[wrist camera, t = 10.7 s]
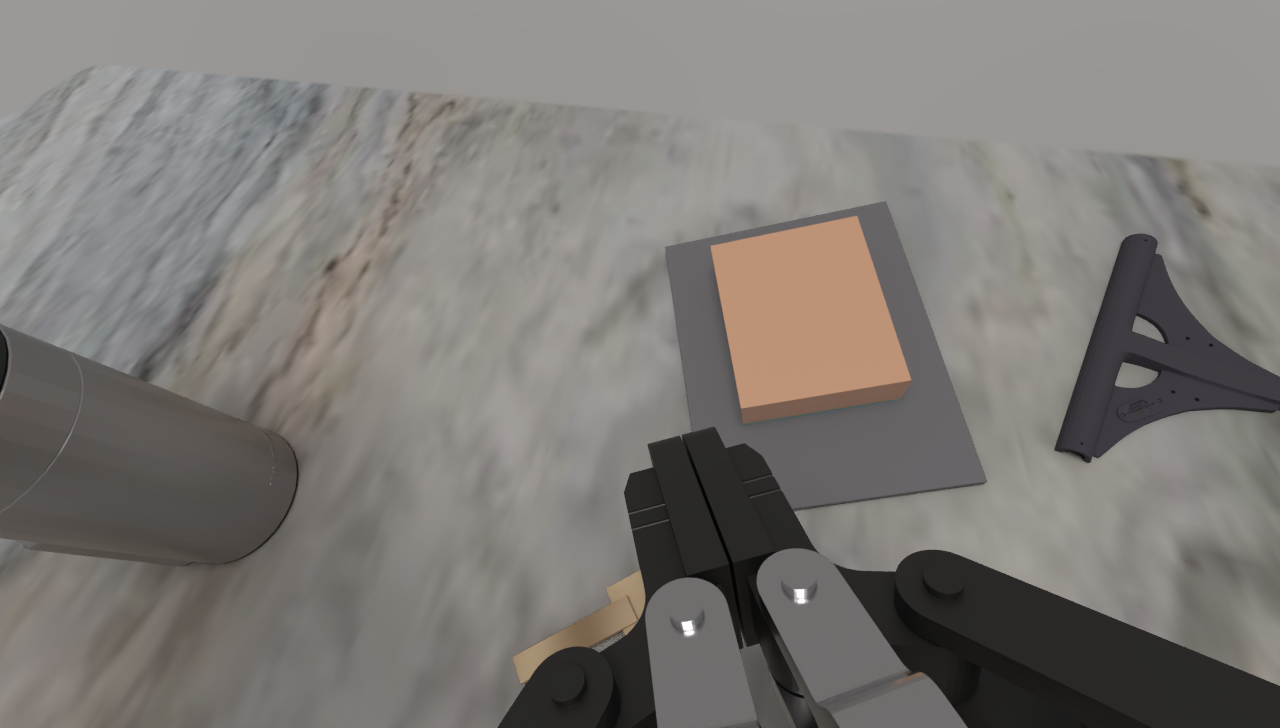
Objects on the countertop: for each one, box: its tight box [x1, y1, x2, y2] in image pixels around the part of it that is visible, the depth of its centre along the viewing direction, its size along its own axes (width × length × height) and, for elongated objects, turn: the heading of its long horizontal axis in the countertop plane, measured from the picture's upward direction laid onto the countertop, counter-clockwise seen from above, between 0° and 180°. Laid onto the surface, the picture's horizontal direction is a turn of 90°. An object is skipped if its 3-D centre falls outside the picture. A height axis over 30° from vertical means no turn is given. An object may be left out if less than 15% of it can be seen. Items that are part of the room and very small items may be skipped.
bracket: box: [1055, 234, 1280, 463], centre depth 30 cm, size 14×15×3 cm
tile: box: [710, 216, 911, 426], centre depth 35 cm, size 9×3×11 cm
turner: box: [512, 570, 645, 684], centre depth 32 cm, size 13×3×1 cm, turn 116°
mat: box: [665, 201, 987, 511], centre depth 36 cm, size 15×19×1 cm
